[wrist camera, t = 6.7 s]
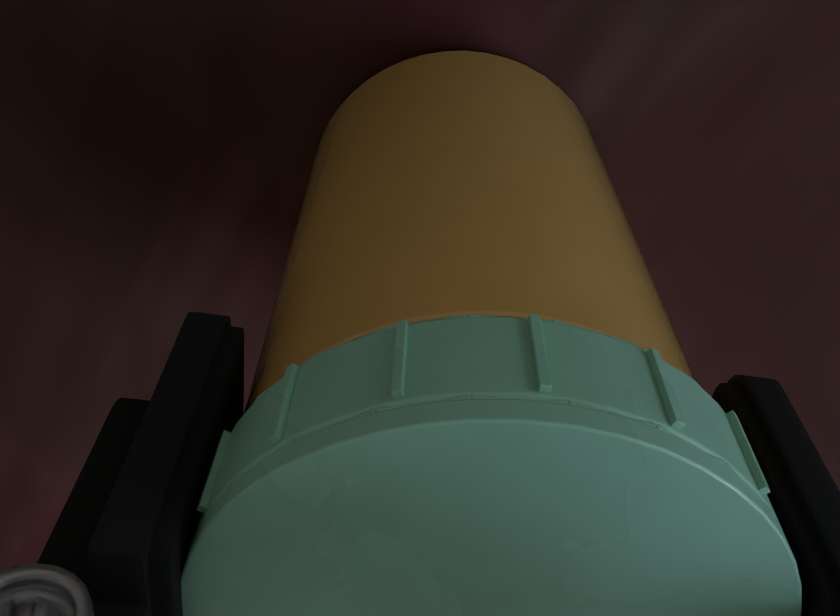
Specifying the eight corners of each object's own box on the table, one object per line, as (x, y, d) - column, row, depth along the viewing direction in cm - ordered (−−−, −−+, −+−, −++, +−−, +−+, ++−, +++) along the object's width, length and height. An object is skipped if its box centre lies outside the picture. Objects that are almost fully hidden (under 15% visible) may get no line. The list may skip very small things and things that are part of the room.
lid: (272, 231, 8) (236, 331, 6) (876, 406, 9) (954, 522, 7) (176, 619, 11) (141, 731, 10) (604, 706, 12) (623, 817, 11)
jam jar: (533, 334, 20) (610, 769, 11) (286, 269, 19) (169, 697, 10) (650, 103, 16) (891, 488, 8) (353, 6, 15) (259, 333, 7)
